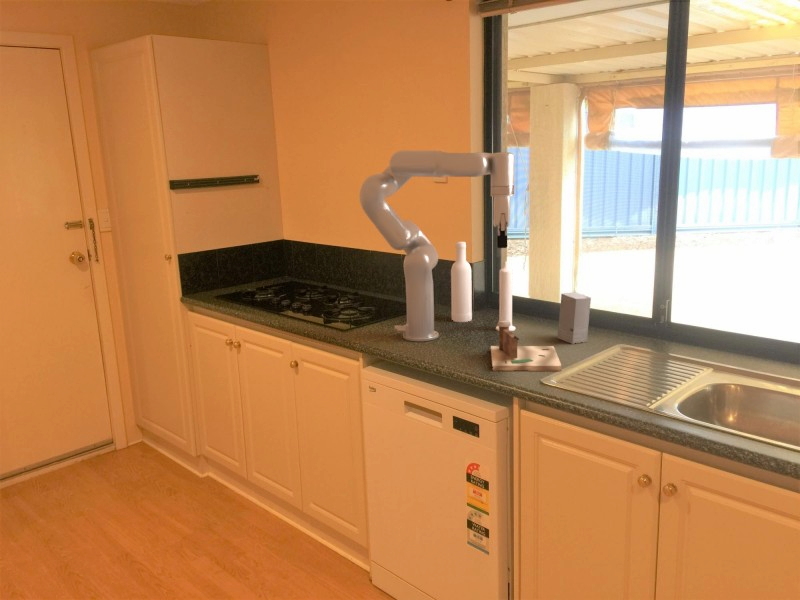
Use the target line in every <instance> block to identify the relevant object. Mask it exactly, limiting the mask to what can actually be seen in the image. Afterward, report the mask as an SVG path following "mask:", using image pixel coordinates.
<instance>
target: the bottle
mask: <svg viewBox="0 0 800 600" xmlns="http://www.w3.org/2000/svg"><path fill="white" fill-rule="evenodd" d="M466 244H467V243H466V242H465V241H457V242H456V243H455V248H456V249H455V254H456V259H455V260H456V261H454V263H453V264H452V266H451V269H450V283H451V286H450V288H451V290H450V291H451V293H450V295H451V302H450V303H451V311H450V312H451V313H450V314H451V315H450V316H451V321H452V320H453V321H452V322H454V323H455V322H456V323H467V322H468V321H469V322H472V320H473V319H472V318H473V309H472V308H473V307H472V306H473V305H472V303H473V302H472V299H473V297H472V296H473V294H472V289H473V288H472V287H473V286H472V278H473V277H472V267H471V265H470V263H469V262H468V261H467V251H466V250H467V249H466V248H467V245H466Z"/></svg>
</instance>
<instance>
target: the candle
mask: <svg viewBox="0 0 800 600" xmlns="http://www.w3.org/2000/svg"><path fill="white" fill-rule="evenodd" d="M498 275H499V279H498V280H499V283H498V284H499V287H498V289H499V294H498V295H499V299H498V303H499V306H498V307H499V320H498V322H499V321H509V322H510V326H509V331H511V332H514V331H516V326H514V325H513V269H511V267H509V266H508V261H506V260H505V261H504V265H503V266H502V268H501V269H499V274H498ZM495 330H496V331H497V332H499V326H498V325H496V327H495Z"/></svg>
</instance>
